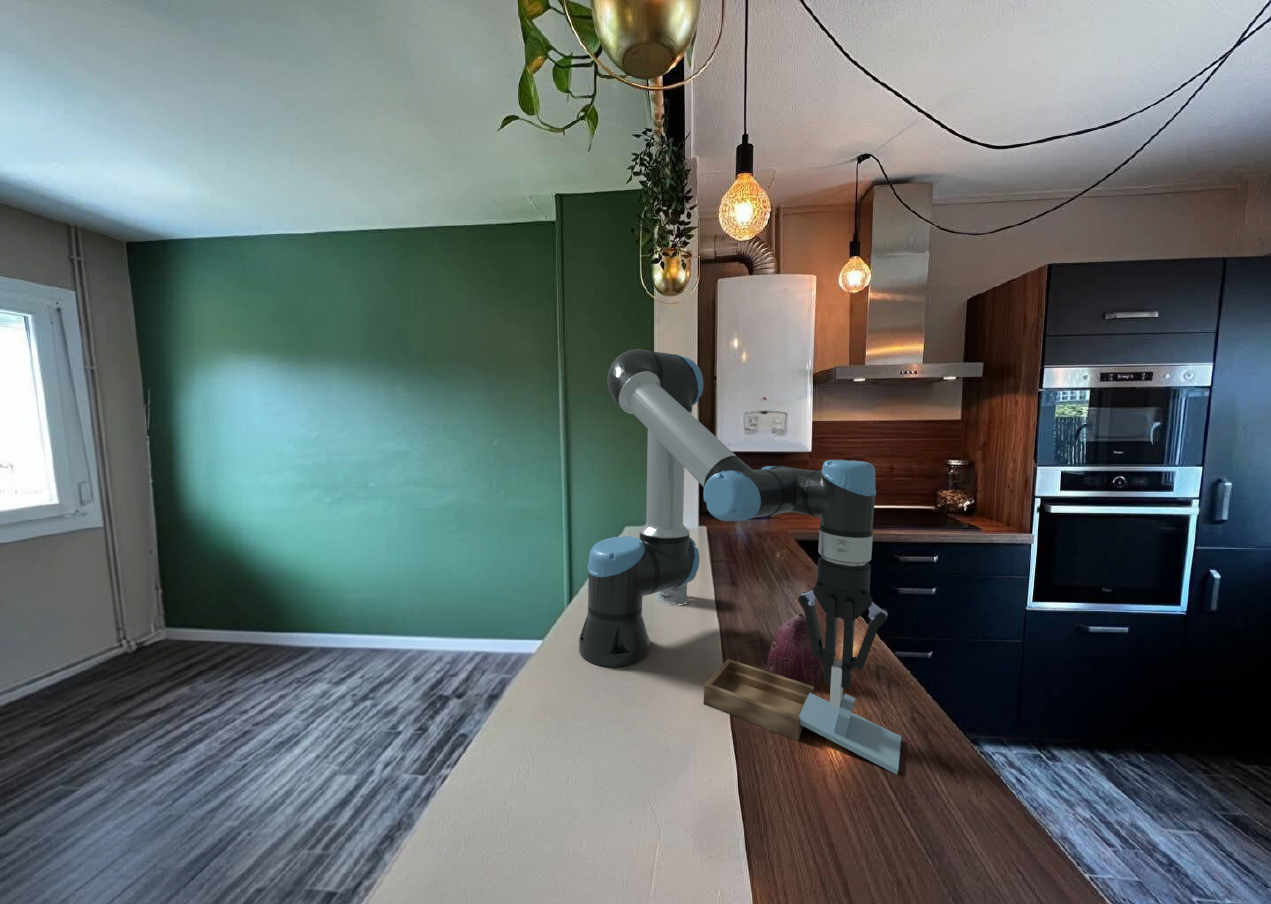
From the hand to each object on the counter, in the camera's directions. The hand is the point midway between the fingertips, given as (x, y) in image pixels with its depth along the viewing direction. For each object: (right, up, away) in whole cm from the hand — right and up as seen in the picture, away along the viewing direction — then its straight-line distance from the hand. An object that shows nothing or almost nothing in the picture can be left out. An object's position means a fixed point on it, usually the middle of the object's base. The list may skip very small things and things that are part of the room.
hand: (835, 703), depth 72 cm
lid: (+2, -4, -1) cm, 4 cm away
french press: (-21, -1, +54) cm, 58 cm away
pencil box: (-10, -4, +7) cm, 13 cm away
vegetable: (-1, -4, +18) cm, 18 cm away
